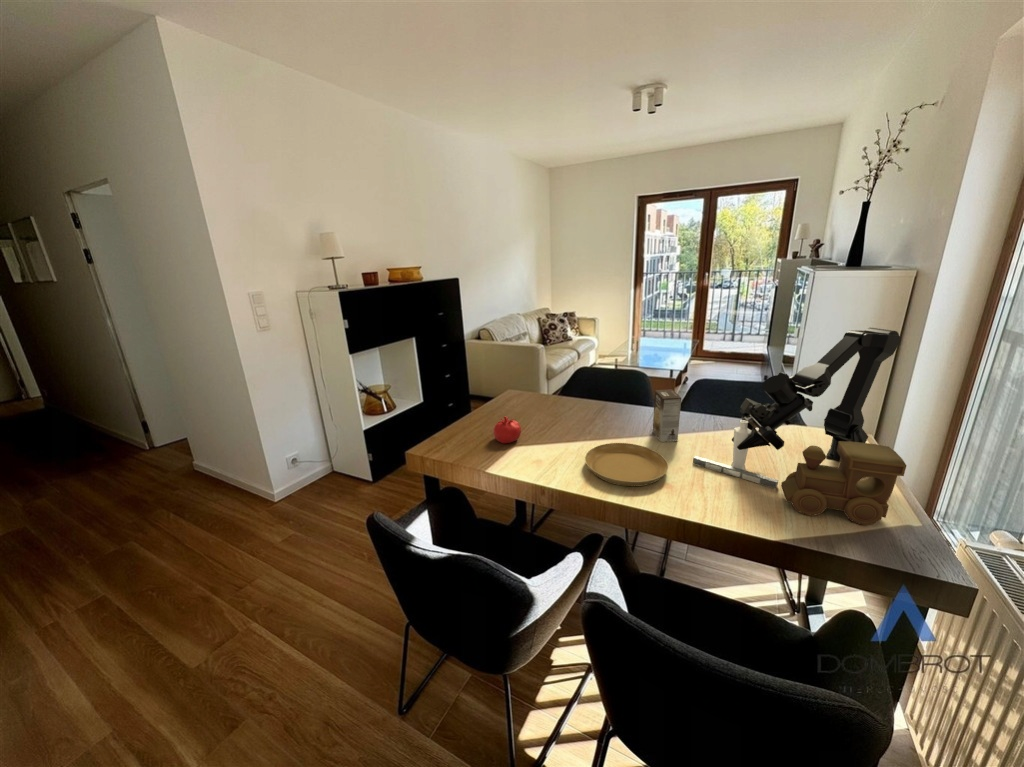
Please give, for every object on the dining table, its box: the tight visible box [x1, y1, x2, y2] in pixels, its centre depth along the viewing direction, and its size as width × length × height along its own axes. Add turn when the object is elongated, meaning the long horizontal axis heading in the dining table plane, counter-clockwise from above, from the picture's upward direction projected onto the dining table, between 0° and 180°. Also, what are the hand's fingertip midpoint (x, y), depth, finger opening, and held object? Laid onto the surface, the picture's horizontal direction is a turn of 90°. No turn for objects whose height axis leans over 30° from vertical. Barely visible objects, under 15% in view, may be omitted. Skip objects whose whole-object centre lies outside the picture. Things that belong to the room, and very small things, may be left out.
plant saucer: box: [584, 442, 669, 487], centre depth 122 cm, size 24×24×3 cm
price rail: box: [692, 455, 779, 490], centre depth 116 cm, size 2×22×2 cm, turn 45°
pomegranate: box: [493, 416, 522, 444], centre depth 145 cm, size 10×10×9 cm
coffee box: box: [652, 388, 682, 442], centre depth 140 cm, size 9×6×16 cm
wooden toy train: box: [780, 441, 908, 526], centre depth 97 cm, size 20×11×17 cm, turn 66°
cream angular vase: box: [730, 419, 752, 470], centre depth 117 cm, size 5×4×15 cm
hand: (735, 444), depth 118 cm, fingers closed on cream angular vase, 4 cm apart
